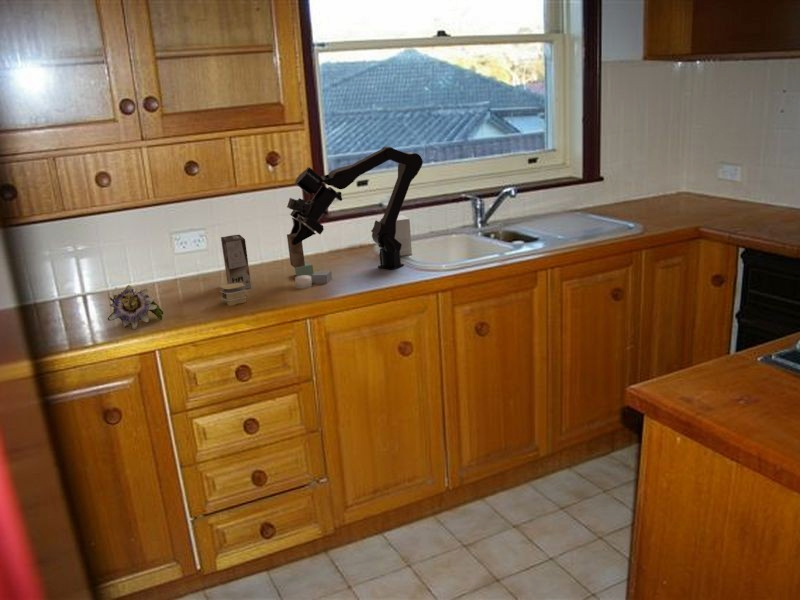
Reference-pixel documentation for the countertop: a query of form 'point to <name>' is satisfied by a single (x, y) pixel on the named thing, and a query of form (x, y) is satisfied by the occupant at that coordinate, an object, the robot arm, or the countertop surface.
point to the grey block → (322, 277)
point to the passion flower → (133, 307)
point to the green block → (304, 269)
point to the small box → (403, 234)
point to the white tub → (303, 281)
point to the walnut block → (295, 252)
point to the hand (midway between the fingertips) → (290, 242)
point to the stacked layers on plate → (233, 293)
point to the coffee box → (236, 260)
